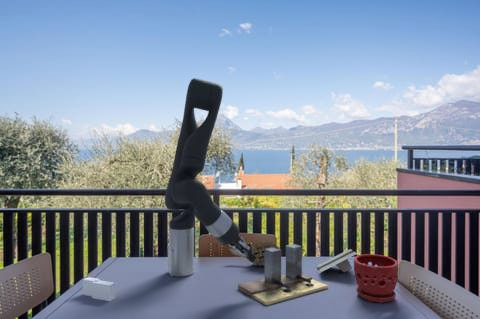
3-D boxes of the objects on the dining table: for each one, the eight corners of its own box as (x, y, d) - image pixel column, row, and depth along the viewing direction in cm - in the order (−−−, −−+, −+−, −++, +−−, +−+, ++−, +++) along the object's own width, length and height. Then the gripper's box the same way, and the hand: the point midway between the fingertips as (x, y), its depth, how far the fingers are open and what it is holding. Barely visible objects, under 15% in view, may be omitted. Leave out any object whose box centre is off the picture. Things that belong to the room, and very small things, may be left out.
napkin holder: (123, 301, 108) (123, 283, 108) (82, 310, 102) (82, 290, 102) (112, 286, 121) (112, 269, 121) (76, 292, 115) (76, 275, 115)
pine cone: (282, 263, 146) (282, 239, 146) (280, 270, 137) (281, 245, 137) (230, 260, 150) (230, 237, 150) (225, 267, 141) (225, 242, 141)
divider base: (260, 302, 107) (260, 261, 107) (237, 289, 117) (238, 251, 117) (321, 285, 121) (321, 249, 121) (296, 275, 131) (296, 241, 131)
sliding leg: (284, 290, 112) (284, 256, 112) (264, 280, 121) (264, 249, 121) (293, 288, 114) (294, 254, 114) (273, 278, 123) (273, 247, 123)
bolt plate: (266, 305, 104) (266, 301, 104) (252, 297, 110) (252, 294, 110) (327, 288, 118) (327, 285, 118) (313, 282, 124) (313, 279, 124)
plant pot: (348, 289, 118) (348, 253, 117) (388, 289, 117) (388, 253, 117) (360, 305, 104) (361, 265, 104) (405, 306, 104) (405, 266, 104)
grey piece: (337, 291, 126) (368, 264, 126) (320, 272, 128) (351, 245, 128) (331, 282, 142) (358, 258, 142) (316, 265, 144) (343, 241, 144)
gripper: (240, 220, 105) (272, 255, 112) (218, 214, 116) (248, 246, 123) (225, 240, 102) (258, 275, 109) (203, 232, 113) (235, 263, 120)
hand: (253, 259), depth 116 cm, fingers closed
